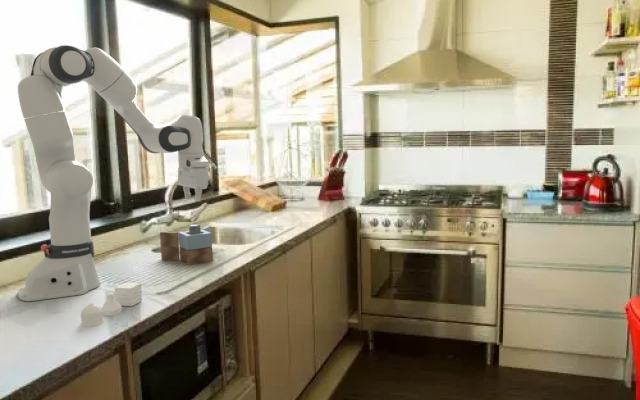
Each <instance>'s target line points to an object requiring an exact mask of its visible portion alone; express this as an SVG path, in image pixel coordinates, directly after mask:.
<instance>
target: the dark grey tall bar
mask: <svg viewBox="0 0 640 400" xmlns="http://www.w3.org/2000/svg"><path fill="white" fill-rule="evenodd" d="M188 229H189V230H188V231H189V234H190V235H193V234H200V233H201V229H202V228H201V224H196V223H195V224H189V225H188Z"/></svg>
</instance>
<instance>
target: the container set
mask: <svg viewBox="0 0 640 400" xmlns="http://www.w3.org/2000/svg"><path fill="white" fill-rule="evenodd" d="M142 291H143V290H142V284H141V283H140V282H139V283H138V282H124V283H121V284H119V285H117V286H115V287H114V293H113V292H108V293H107V294H106V301H105V302H104V303H103V306H102V307H101V306H99V305H98V304H95V303H93V302H90V303H88V304H87V305H86V306H84V307H83V309H81V313H80V318H81V319H80V320H81V323H80V326H81V327H83V328H92V327H98V326H100V325H103V324H104V322H105V321H104V317H113V316H118V315H120V314H122V313H123V309H122V308H123V307H133V306H135V305H137V304H138V303H141V302H142V301H143V292H142Z"/></svg>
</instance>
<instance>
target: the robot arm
mask: <svg viewBox="0 0 640 400" xmlns="http://www.w3.org/2000/svg"><path fill="white" fill-rule="evenodd" d="M81 82H85V83H86V84H88V85H90V87H91V88H92V89H93V90H94V91H95V92H96V93H97V94H98V95H99V96H100V97H101V98H102V99H104V101H105V102H106V103H108V104H109V105H110V106H111V107H112V108H113V109H114V110H115V111H116V113H117V114H118V115H119V116H120V117H121V119H123V120H124V121H125V123H126V124H127V125H128V126H129V127H130V128H131V129H132V131H134V133H135V135H136V136H137V137H138V138H137V139H138V140H139V143H140V144H141V146H142V148H143V149H144V150H145V151H146V152H149V153H151V154H161V153H162V154H164V153H165V154H167V153H168V154H172V153H175V152H177V155H178V157H177V158H178V160H177V161H178V167H177V168H178V169H177V183H178V185H179V186H182V189H183V192H184V198H185V199H187V200H188V199H189V200H190V199H191V198H192V193H191V191H190V190H191V189H194V192H195V194H194V196H193V198H194V201H195V202H201V201H202V199H201V198H202V193H203V190H206V189H207V188H208V185H209V170H208V168H209V167H210V166H209V165H210V164H209V162H210V161H208V159H207V158H206V157H205V153H204V149H203V143H204V131H203V124H202V121H201V119H200V118H199V117H197V116H196V115H195V116H194V115H189V114H181V115H178V117H177V118H175V119H174V120H172V121H170V122H168V123H165V124H156V123H154V122H152V121H151V120H149V118H148V117H147V116H146V115H145V114H144V112H142V110H141V109H140V108H139V107H138V106H137V104H136V101H135V99H136V96H137V93H138V87H137V84H136V82H135V81H134V79H133V77H132V76H131V75H130V74H129V73H128V71H126V69H124V68H123V67H122V65H121V64H119V63H118V62H117V61H116V60H115V59H114V58H113V57H112V56H110V55H109V54H108V53H107V52H105V51H104V50H103V49H101V48H99V47H89V48H87V49H85V50H83V49H80V48H78V47H76V46H72V45H68V44H67V45H66V44H65V45H60V46H59V45H58V46H55V47H51V48H48V49H46V50H44V51H42V52H41V53H39V54H37V56H36V57H35V59H34V61H33V63H32V67H31V73H30V75H28V76H26V77H25V78H24V77H23V79H21V80H20V81H19V83H18V84H17V94H18V99H19V104H20V110H21V114H22V117H23V119H24V123H25V126H26V128H27V131H28V134H29V138H30V141H31V144H32V146H33V151H34V152H33V153H34V157H35V161H36V166H37V170H38V173H39V177H40V181H41V184H42V186H43V187H44V189H45V190H46V192H47V191H48V192H49V193H50V206H49V207H50V208H49V216H48V223H49V235H50V243H49V244H48V245H47V244H42V245H41V246H40V250H41V251H42V252H43V254H44V257H43V258H42V260H40V261H39V262H38V263H36V264H35V265H34V266H33V267H32V268H31V269H29V271H28V272H27V273H26V277H25V283H24V284H25V285H24V286H23V287H20V288H19V289H18V290H17V298H18V299H20V301H24V302H34V301H42V300H49V299H57V298H65V297H71V296H80V295H84V294H86V293H87V292H89V291H92V290H93V289H96V288H98V287H99V286H100V285H101V281H100V278H99V276H98V273H97V269H96V265H95V264H96V263H95V259H94V258H95V246H94V245H95V244H94V240H93V239H92V234H91V233H92V231H91V220H90V218H91V217H90V211H91V200H92V199H91V198H92V187H93V185H94V184H93V183H94V178H93V177H94V176H93V175H92V173H91V171H90V170H89V169H88V167H86V166H85V165H84V164H83V163H81V162H79V161H77V158H76V157H77V156H76V152H75V151H76V150H75V144H74V141H75V140H74V139H75V138H74V134H73V130H72V127H71V124H70V121H69V118H68V113H67V111H66V108H65V105H64V103H63V100H62V99H63V98H62V91H63V88H64V87H69V86H71V85H74V84H77V83H81Z"/></svg>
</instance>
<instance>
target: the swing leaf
mask: <svg viewBox="0 0 640 400" xmlns="http://www.w3.org/2000/svg"><path fill="white" fill-rule="evenodd" d="M200 229H201V233H200V234H193V235H190V234H189V230H186V231H178V238H179V247H180V246H181V247H183V248H185V249H187V250H193V249H200V248H206V247H212V248H213V239H212V236H213V235H212V227H211V225H207V226H205V227H203V228H200Z"/></svg>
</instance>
